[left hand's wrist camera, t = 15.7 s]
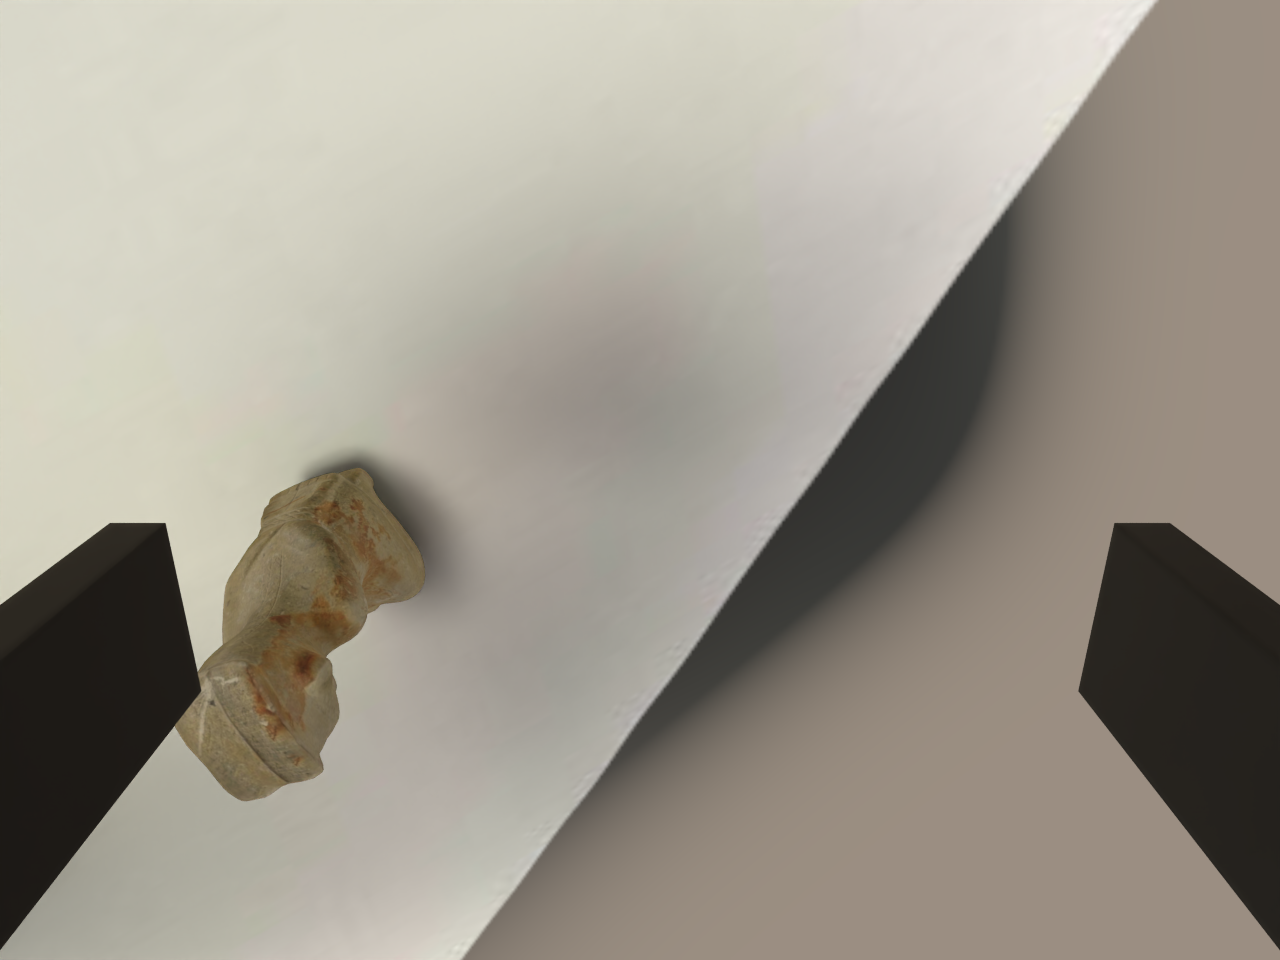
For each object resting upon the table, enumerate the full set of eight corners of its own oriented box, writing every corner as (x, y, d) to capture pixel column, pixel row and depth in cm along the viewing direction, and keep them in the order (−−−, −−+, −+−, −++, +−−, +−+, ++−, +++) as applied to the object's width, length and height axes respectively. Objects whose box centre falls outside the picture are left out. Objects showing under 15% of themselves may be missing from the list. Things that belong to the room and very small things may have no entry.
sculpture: (341, 608, 43) (199, 836, 29) (269, 478, 41) (77, 660, 27) (450, 571, 43) (358, 788, 29) (384, 437, 40) (249, 603, 26)
